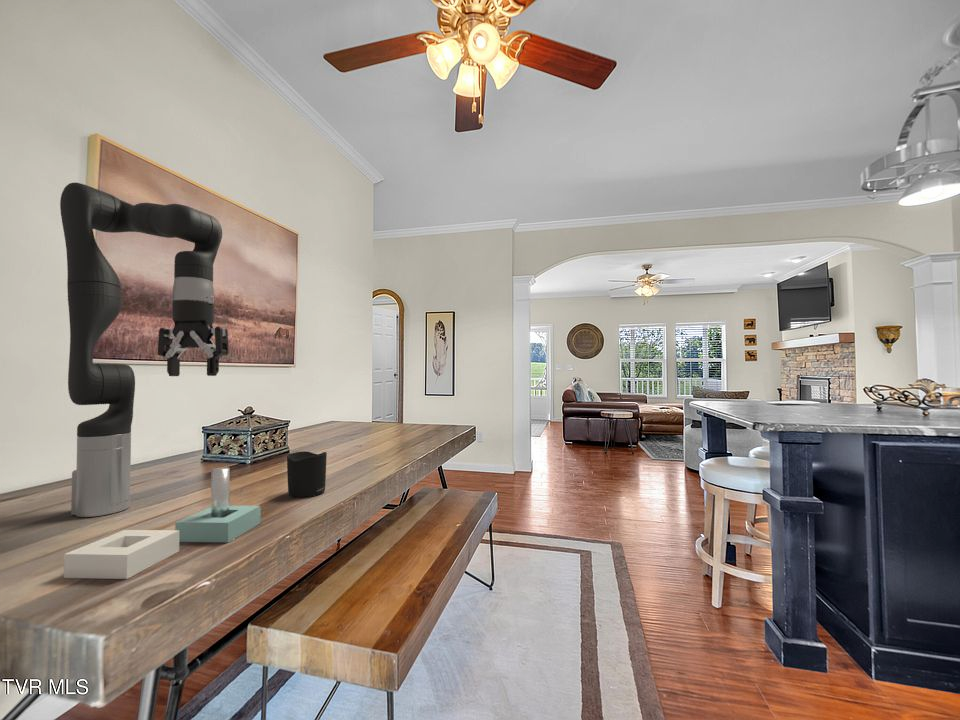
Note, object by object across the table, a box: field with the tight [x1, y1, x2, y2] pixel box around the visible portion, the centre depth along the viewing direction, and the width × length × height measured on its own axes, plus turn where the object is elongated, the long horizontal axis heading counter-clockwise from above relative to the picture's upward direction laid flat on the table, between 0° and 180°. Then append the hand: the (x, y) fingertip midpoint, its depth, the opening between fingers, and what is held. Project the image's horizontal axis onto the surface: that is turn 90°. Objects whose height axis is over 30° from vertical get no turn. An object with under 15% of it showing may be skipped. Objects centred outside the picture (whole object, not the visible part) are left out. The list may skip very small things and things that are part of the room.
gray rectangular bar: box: [210, 466, 231, 518], centre depth 82 cm, size 3×3×12 cm
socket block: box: [63, 529, 180, 580], centre depth 68 cm, size 10×10×4 cm
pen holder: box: [286, 450, 328, 499], centre depth 109 cm, size 9×9×10 cm
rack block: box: [174, 505, 262, 543], centre depth 82 cm, size 10×10×4 cm
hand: (193, 376), depth 92 cm, fingers open, 8 cm apart
